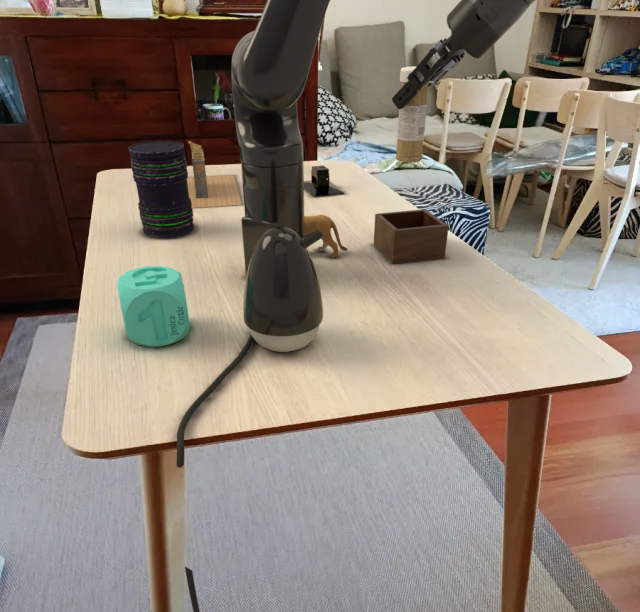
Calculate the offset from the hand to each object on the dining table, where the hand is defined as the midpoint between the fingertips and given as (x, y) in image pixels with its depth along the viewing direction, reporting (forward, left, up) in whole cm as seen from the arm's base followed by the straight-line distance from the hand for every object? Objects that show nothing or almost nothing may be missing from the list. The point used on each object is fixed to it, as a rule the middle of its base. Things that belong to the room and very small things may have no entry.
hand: (401, 101), depth 97 cm
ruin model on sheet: (+7, +52, -23) cm, 58 cm away
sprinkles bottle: (0, -2, -9) cm, 9 cm away
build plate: (+23, +30, -23) cm, 45 cm away
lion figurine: (-14, +10, -23) cm, 29 cm away
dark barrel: (-17, +39, -23) cm, 49 cm away
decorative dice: (-49, +10, -23) cm, 55 cm away
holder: (-3, -5, -23) cm, 23 cm away
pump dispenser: (-42, -6, -23) cm, 48 cm away
